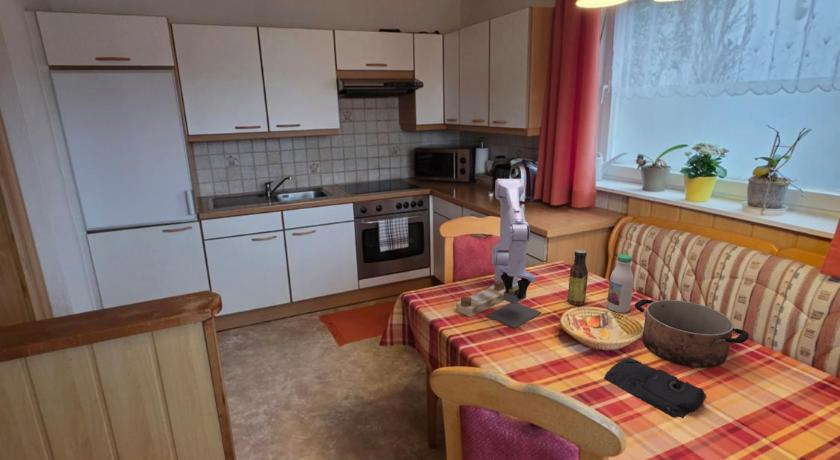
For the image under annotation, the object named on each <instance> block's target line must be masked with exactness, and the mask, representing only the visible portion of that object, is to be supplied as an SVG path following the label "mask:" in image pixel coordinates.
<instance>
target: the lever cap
mask: <svg viewBox="0 0 840 460" xmlns="http://www.w3.org/2000/svg"><path fill="white" fill-rule="evenodd" d="M525 299H527V290H526V292H525V295H524V298H522V299H519V288H518V285H516V286H514V287H512V288H510V289H509V290H507V291H505V292H504V296H503V300H504V301H505V302H507V303H513V304H515V303H519V302H521V301H523V300H525Z"/></svg>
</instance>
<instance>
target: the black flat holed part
mask: <svg viewBox="0 0 840 460" xmlns="http://www.w3.org/2000/svg"><path fill="white" fill-rule="evenodd" d="M603 379H604V380H606V381H607V382H608V383H610V384H613V385H614V386H616V387H618V388H620V389H621V390H623V391H624V392H626V393H628V394H629V395H631V396H633V397H635V398H637V399H638V400H640V401H643V402H644V403H646V404H648V405H650V406H651V407H654V408H655V409H657V410H659V411H661V412H662V413H664V414H666V415H668V416H669V417H671V418H676V417H677V418H678V417H679V418H681V419H684V418H685V417H686V416H687V415H689V414H690V413H695V412H696V411H697V410H699V408H701V407H702V405H703V404H704V403H705V402H704V400H705V399H706V397H707V395H706V393H705V391H704V390H703V388H701V387H697V386H696V385H693V384H691V383H689V382H688V381H686V382H685V381H682V380H680V379H678V377H676V376H675V375H673V374H670V373H668V372H667V371H665V370H663V369H656V368H653V367H651V366H649V365H647V364H644V363H642V362H641V361H639V360H637V359H634V358H632V357H626V358H624V359H621V360H620V361H619V362H617V363H615V364H614V365H613V366H611V368H610V369H609V370H608V371H607V372H606V373H605V374H604V377H603Z"/></svg>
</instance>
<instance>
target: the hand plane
mask: <svg viewBox="0 0 840 460" xmlns="http://www.w3.org/2000/svg"><path fill="white" fill-rule="evenodd" d="M493 284H494V286H492V287H490V286H489V287H488V288H486V289H484V290H481V291H479V292H476V293H475V294H473V295H470V296H467V295H466V296H462V297H460V300H459V301H457V302H455V311H456V312H458V313H461V314H462V315H465V316H467V317H470V318H473V317H474V316H475V315H478V314H480V313H482V312H484V311H486V310H488V309H490V308H492V307H494V306H496V305H498V304H500V303H501V302H504V301H505V300H503V296H504V292H505V291H506V290H505V289H504V283H503V281H501V280H498V281H496V282H495V281H494V282H493Z"/></svg>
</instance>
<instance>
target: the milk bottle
mask: <svg viewBox="0 0 840 460" xmlns="http://www.w3.org/2000/svg"><path fill="white" fill-rule="evenodd" d="M616 260H617V264H616V266H615V267H614V269H613V271H612V272H611V275H610V278H609V284H608V293H607V301H606V307H607V309H608V310H610V311H611V310H612V311H611V312H614V311H615V312H614V313H621V314H625V313H628V312H630V310H631V305H632V297H633V290H634V274H633V271H632V267H631V264H632V260H633V257H632V256H631V255H629V254H624V253H623V254H621V253H619V254H618V255H617V257H616Z"/></svg>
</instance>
